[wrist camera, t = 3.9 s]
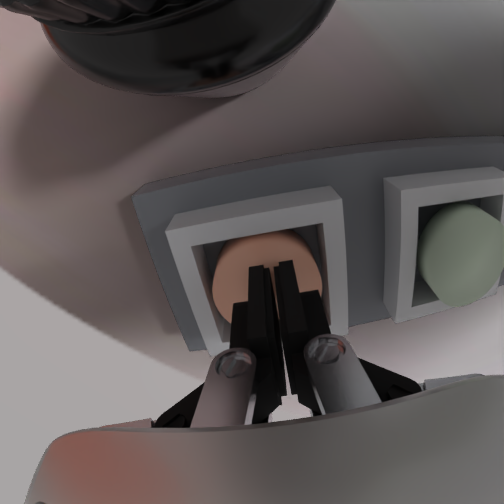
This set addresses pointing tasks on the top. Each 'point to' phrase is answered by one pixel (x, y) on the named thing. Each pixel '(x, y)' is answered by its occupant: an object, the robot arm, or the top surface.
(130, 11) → the supplement bottle
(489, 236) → the sage button
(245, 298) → the terracotta button
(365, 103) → the top surface
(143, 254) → the top surface
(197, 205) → the button panel
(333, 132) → the top surface
